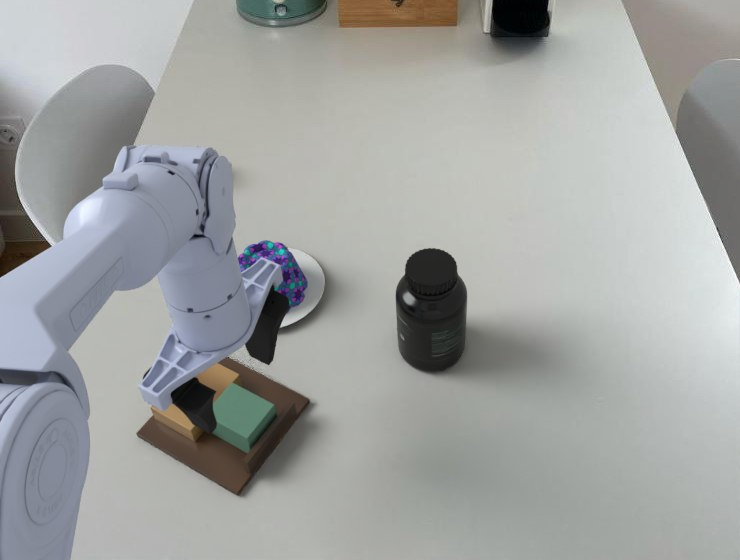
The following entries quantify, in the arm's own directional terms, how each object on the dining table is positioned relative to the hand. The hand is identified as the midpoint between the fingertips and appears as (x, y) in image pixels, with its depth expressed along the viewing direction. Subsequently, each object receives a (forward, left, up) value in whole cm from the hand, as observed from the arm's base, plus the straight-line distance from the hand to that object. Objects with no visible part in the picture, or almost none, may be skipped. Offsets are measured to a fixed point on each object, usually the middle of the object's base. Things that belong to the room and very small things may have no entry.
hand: (234, 390), depth 68 cm
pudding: (+16, +10, -9) cm, 21 cm away
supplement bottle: (+18, -9, -9) cm, 22 cm away
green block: (+1, +2, -9) cm, 9 cm away
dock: (+1, +4, -9) cm, 10 cm away
